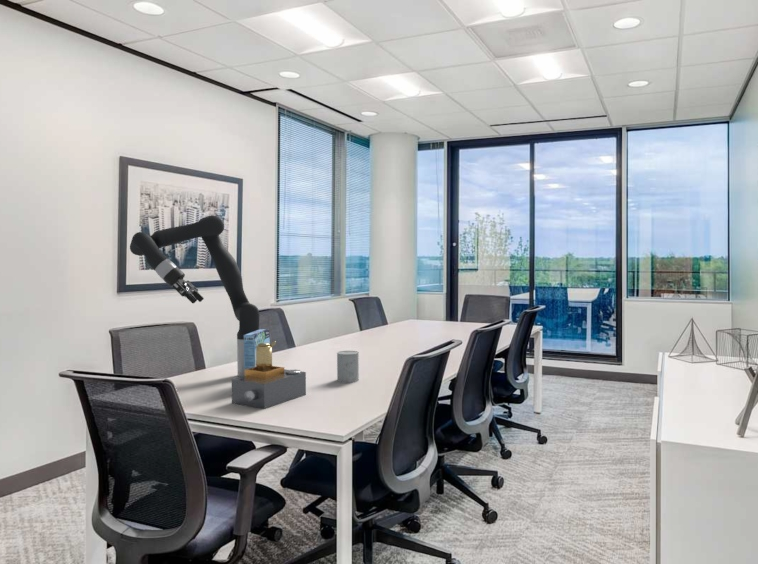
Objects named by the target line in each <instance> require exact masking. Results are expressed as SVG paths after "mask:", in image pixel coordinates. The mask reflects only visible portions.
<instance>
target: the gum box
mask: <svg viewBox="0 0 758 564" xmlns="http://www.w3.org/2000/svg"><path fill="white" fill-rule="evenodd" d="M270 338H271V337H270V329H268V328H267V329H266V328H265V329H263V328H262V329H260V328H259V330H257V331H254V332H251V333H248V334H246V335H244V376H245V369H248V368H252V367H256V346H257V345H258V344H259V343H270V344H271V342H270V341H271V340H270Z"/></svg>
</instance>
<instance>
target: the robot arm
mask: <svg viewBox="0 0 758 564" xmlns="http://www.w3.org/2000/svg"><path fill="white" fill-rule="evenodd" d="M224 230H225V222H224V221H223V219H222V218H221V217H220V216H217V215H207V216H205V217H202V218H200V219H199V220H198V221H197V222H193V223H190V224H186V225H180V226H173V227H168V228H164V229H161V230H157V231H154V232H153V233H152V234H151V235H149V234H147V233H145V232H143V231H138V232H135V234H134V235H132V239H131V241H130V244H129V250H130V252H131V253H132V254H133V255H135V256H144V257H145V261H146V263H147V264H148V265H149V267H150V268H152V270H154V271H155V273H156V274H157V275H158V277H160V278H161V280H163V281H164V283H166V284H167V285H168V286H169V288H173V289H174V290H175V291H177V293H178V294H179V295H180V296H181V297H183V298H186V299H187V300H188V301H189V302H190V303H192V304H195V303H196V302H197V301H198V302H199V303H201V302H202V301H203V300H204V297H203V296H202V295H201V294H200V293H199V290H198V288H197V287H196V286H195V285H193V284H192V282H191V281H189V280H185V279H184V278H185V273H184V272H183V271H182V270H181V269H180V268H179V267H178V266H177V264H175V263H174V262H173V261H172V260H170V259H169V257H167V256H166V255H165V254H164V253H163V252H162V251H161V250H160V249H162V248H165V247H169V246H174V245H176V244H180V243H182V242H183V243H184V242H187V241H190V240H193V239H197V238H201V239H202V241H203V243H204V244H205V246H206V248H207V250H208V253H209V255H210V257H211V260H212V262H213V264H214V267H215V269H216V272H217V274H218V277H219V280H221V283H222V286H223V287H224V290H225V292H226V293H227V295H228V299H229V301H230V303H231V306H232V311H233V313H234V316H235V318H236V320H237V321H238V322H239V328H238V331H237V334H236V344H237V345H236V348H237V349H236V353H237V360H236V361H237V378H238V377H242V376H244V335H246V334H248V333H251V332H254V331H257V330H259V329H260V310H259V308H258V307H257V306H256V305H255V304H253V303H250V301H249V299H248V298H247V294H246V292H245V290H244V285H243V278H242V277H243V276H242V273H241V270H240V268H239V266H238V263H237V261H236V260H235V258H234V257H233V255H232V254H231V253H230V252H229V250H228V249H227V248H226V247H225V246H224V245H225V244H224V243H223V242H222V240H221V236H220V235H221V234H222V233H223V231H224Z"/></svg>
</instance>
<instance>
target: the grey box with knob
mask: <svg viewBox="0 0 758 564" xmlns="http://www.w3.org/2000/svg"><path fill="white" fill-rule="evenodd" d="M306 374H307V372H306V371H301V369H285V367H284V366H278V365H272V370H270V371H266V372H265V371H257V370H256V367H252V368H248V369H245V376H242V377H238V376H237V377H236V378H235V377H234V378H232V379H231V404H234V403H235V404H236V405H241V406H245V405H246V406H247V407H253V408H257V409H264V410H265V409H268V408H271V407H274V406H277V405H280V404H282V403H286V402H289V401H291V400H295V399H297V398H300V397H303V396H305V395H307V383H306V382H307V380H306V379H307V377H306V376H307V375H306ZM235 404H234V405H235Z"/></svg>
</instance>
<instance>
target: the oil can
mask: <svg viewBox="0 0 758 564" xmlns="http://www.w3.org/2000/svg"><path fill="white" fill-rule="evenodd" d="M276 344H277V341H276V340H274V341H272V342H270V343H259V344H258V345H257V346H256V370H257V371H265V372H266V371H270V370H272V366H273V347H274V345H276Z"/></svg>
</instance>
